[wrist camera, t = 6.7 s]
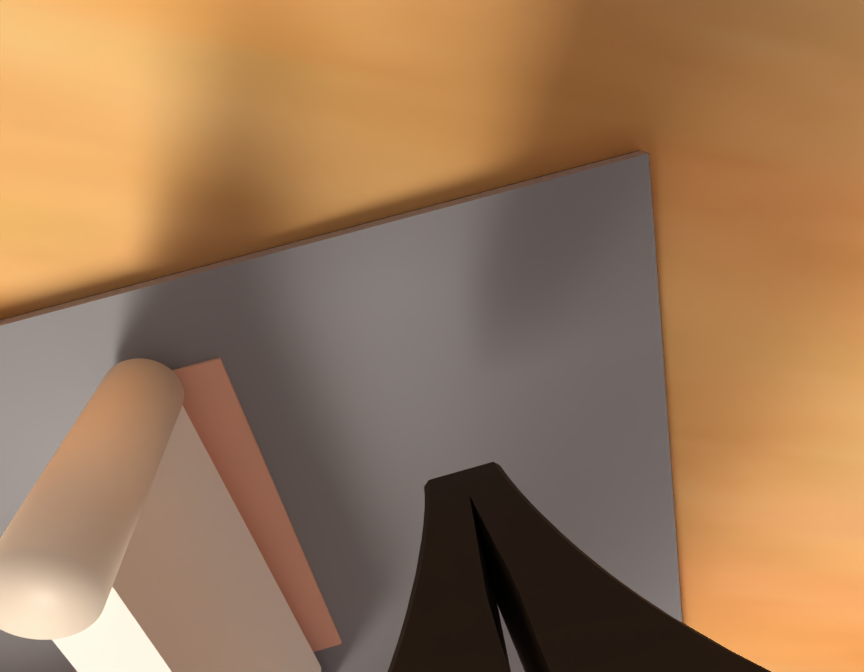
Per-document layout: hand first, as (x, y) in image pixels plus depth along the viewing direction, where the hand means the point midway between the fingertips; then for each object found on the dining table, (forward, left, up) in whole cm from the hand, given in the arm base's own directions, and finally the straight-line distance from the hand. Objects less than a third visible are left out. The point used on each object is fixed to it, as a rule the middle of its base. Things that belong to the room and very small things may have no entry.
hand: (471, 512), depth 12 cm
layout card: (-6, -5, -4) cm, 9 cm away
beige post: (-6, -2, -3) cm, 7 cm away
